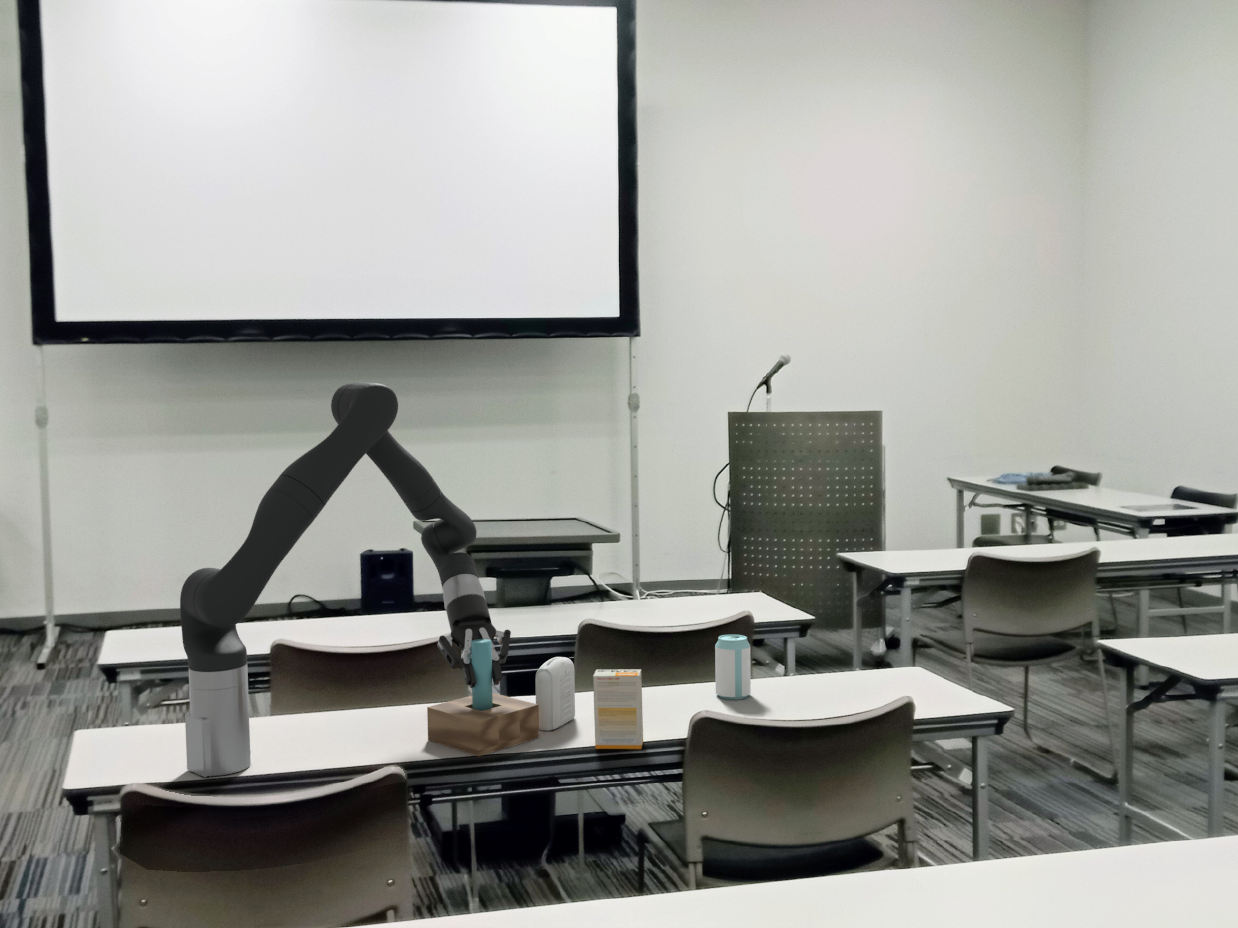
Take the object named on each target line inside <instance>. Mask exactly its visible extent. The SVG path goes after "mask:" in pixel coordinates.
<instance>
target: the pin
mask: <svg viewBox="0 0 1238 928" xmlns="http://www.w3.org/2000/svg"><path fill="white" fill-rule="evenodd" d="M470 664H472V666H473V670H474V675H475V679H476V684H475V687H474V688H471V696H472V709H476V710H479V711H484V710H487V709H491V708H493V697H492V693H493V679H492V644H491V640H489V639H477V640H472V641H471V657H470Z"/></svg>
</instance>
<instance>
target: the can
mask: <svg viewBox="0 0 1238 928" xmlns="http://www.w3.org/2000/svg"><path fill="white" fill-rule="evenodd" d="M717 639H718V640H717V642H716V643H715V646H714V650H715V652H714V654H715V657H714V658H715V663H714V664H715V667H714V668H715V669H714V670H715V671H714V673H715V680H714V681H715V694H716V695H717V696H719V697H720V698H722V699H725V700H742V699H743V700H744V699H745V698H747V697H748V696H749V695H751V692H752V691H751V690H752V689H751V684H752V683H751V682H752V681H751V679H752V678H751V674H752V673H751V644H750V643H749V641H748V636H745V635H744V634H743V635H742V634H722V635H719V636H718V638H717Z"/></svg>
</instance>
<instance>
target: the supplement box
mask: <svg viewBox="0 0 1238 928" xmlns="http://www.w3.org/2000/svg"><path fill="white" fill-rule="evenodd" d="M592 680H593V682H592V683H593V685H592V687H593V713H594V714H593V715H594V717H593V718H594V719H593V720H594V745H595V747H594V748H595V749H596V750H642V748H643V743H644V721H643V719H644V717H643V715H644V714H643V690H642V689H643V686H642V681H643V680H642V669H641V668H640V669H632V668H631V669H629V668H628V669H623V668H621V669H598V668H597V669H596V670H595V671H594V674H593V675H592Z"/></svg>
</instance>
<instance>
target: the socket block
mask: <svg viewBox="0 0 1238 928" xmlns="http://www.w3.org/2000/svg"><path fill="white" fill-rule="evenodd" d="M492 697H493V708H491V709H487V710H484V711H479V710H476V709H472V695H469V696H465V697H461V698H458V699H453V700H450V701H445V702H442V703H439V704H438V703H437V704H434V705H431V706H427V707H426V708H427V712H426V713H427V714H426V715H427V741H429V742H432V743H436V744H438V745H441V746H445V747H448V748H452V749H454V750H458V751H461V752H464V753H467V754H471V755H473V756H476V757H481V756H485V755H487V754H491V753H494V752H497V751H500V750H504V749H507V748H510V747H511V748H512V747H513V746H517V745H520V744H524V743H527V742H529V741H532V740H537V739H539V738H540V729H539V705H538V704H536V703H533V702H530V701H525V700H521V699H518V698H514V697H511V696H507V695H502V694H499V693H494V692H492Z"/></svg>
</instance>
